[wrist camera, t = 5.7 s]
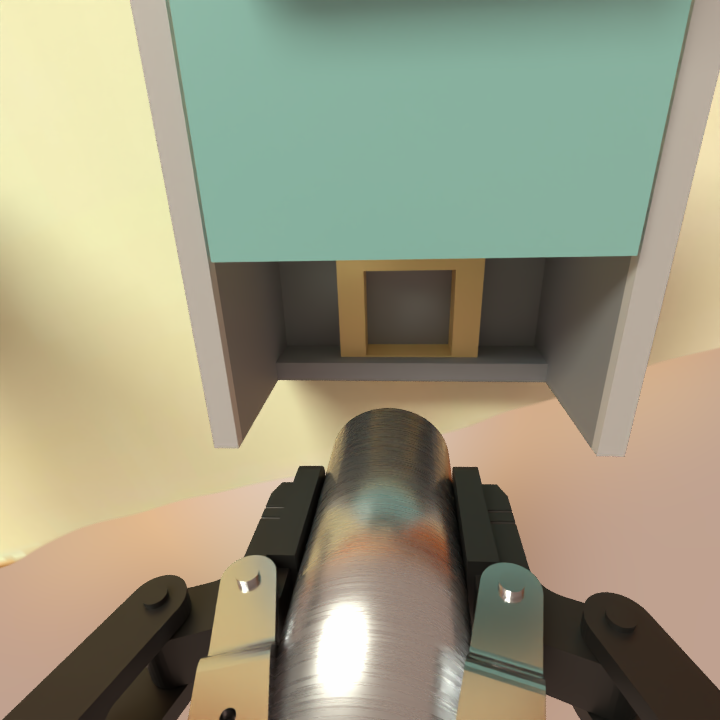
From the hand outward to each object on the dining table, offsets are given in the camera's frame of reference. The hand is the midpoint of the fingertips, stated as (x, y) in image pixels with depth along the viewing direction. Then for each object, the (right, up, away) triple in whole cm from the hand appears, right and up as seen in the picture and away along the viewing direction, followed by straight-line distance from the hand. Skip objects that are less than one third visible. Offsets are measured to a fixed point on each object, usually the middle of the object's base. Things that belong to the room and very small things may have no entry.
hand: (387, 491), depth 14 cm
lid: (+1, +13, +2) cm, 13 cm away
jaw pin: (0, +1, +2) cm, 2 cm away
